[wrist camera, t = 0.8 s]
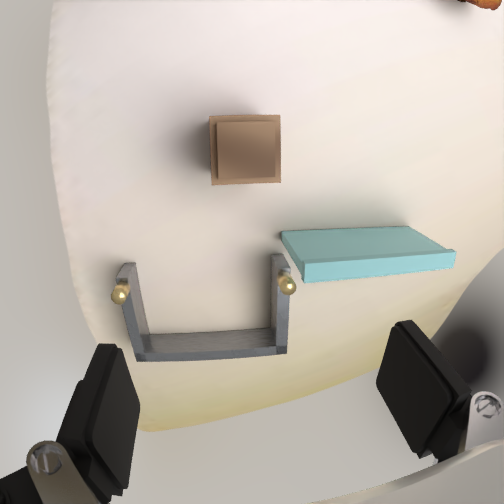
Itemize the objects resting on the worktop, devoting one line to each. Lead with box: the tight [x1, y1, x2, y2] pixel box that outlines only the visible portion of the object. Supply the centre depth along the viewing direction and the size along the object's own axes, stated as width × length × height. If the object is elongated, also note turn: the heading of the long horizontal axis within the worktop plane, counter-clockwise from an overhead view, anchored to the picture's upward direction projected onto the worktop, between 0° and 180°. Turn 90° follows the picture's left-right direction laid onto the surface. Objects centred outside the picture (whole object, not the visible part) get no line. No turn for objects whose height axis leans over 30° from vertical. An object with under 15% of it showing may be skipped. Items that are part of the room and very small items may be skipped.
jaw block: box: [209, 115, 281, 185], centre depth 25 cm, size 5×5×8 cm
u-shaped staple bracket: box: [111, 254, 296, 362], centre depth 31 cm, size 10×17×6 cm, turn 91°
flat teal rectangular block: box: [282, 226, 456, 283], centre depth 28 cm, size 2×15×9 cm, turn 92°
